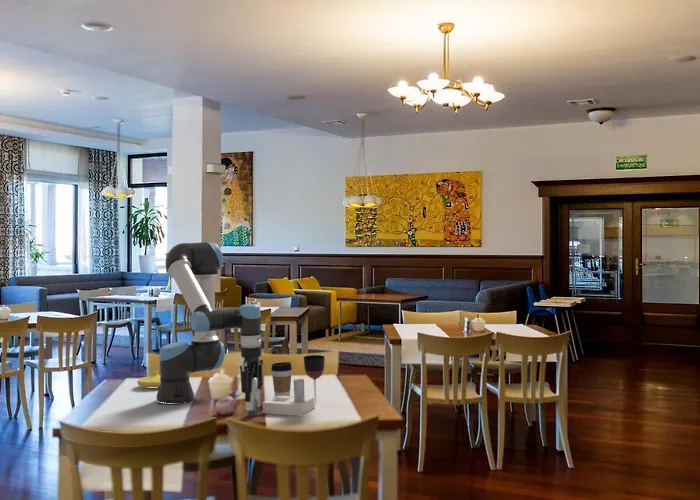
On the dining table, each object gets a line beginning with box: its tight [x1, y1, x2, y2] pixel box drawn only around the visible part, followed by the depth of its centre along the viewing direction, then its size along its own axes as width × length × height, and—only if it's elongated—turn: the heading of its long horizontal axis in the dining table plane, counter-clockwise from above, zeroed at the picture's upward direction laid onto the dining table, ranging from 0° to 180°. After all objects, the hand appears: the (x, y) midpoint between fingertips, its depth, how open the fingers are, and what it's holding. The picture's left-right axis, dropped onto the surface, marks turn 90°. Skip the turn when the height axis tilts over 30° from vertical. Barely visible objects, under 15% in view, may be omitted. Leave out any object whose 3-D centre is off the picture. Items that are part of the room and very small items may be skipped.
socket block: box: [262, 378, 315, 417], centre depth 268 cm, size 16×12×12 cm
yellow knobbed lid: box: [136, 370, 160, 388], centre depth 317 cm, size 16×16×7 cm
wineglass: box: [303, 354, 326, 407], centre depth 272 cm, size 8×9×20 cm
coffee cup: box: [270, 361, 293, 397], centre depth 286 cm, size 8×8×15 cm
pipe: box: [247, 377, 259, 418], centre depth 263 cm, size 4×4×14 cm
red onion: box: [215, 394, 238, 416], centre depth 266 cm, size 8×8×7 cm
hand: (252, 408), depth 263 cm, fingers open, 4 cm apart
